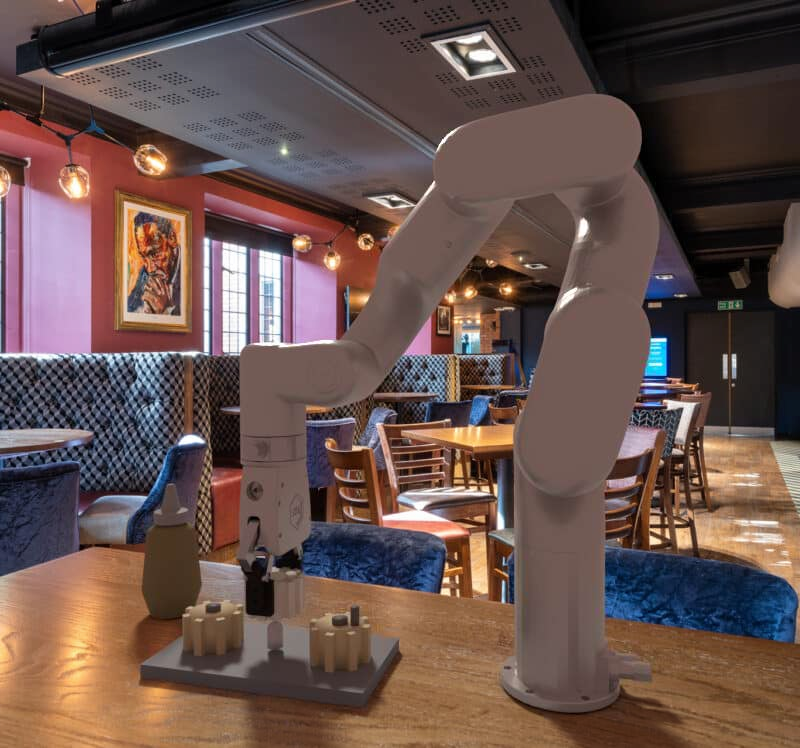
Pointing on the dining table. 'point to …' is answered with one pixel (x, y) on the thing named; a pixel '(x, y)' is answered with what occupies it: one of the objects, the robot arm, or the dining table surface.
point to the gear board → (276, 655)
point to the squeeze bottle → (171, 560)
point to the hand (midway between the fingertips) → (275, 601)
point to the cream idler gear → (284, 594)
